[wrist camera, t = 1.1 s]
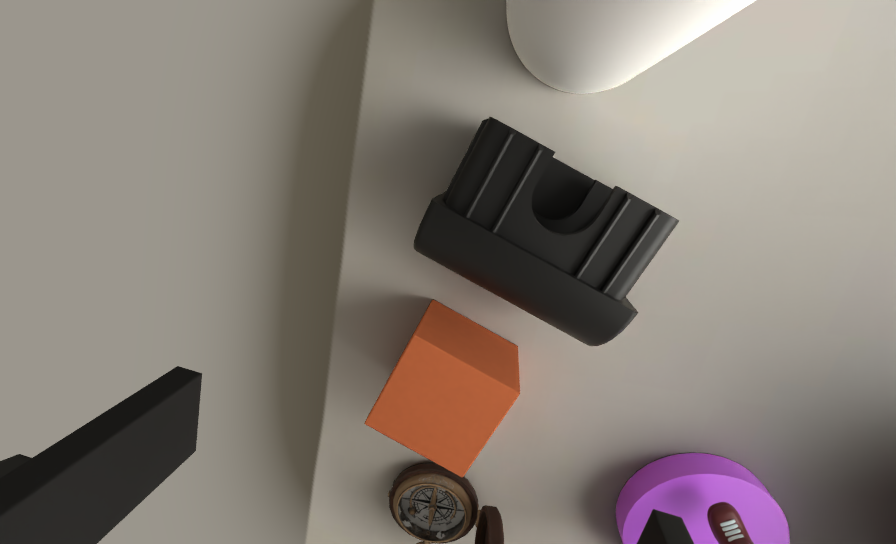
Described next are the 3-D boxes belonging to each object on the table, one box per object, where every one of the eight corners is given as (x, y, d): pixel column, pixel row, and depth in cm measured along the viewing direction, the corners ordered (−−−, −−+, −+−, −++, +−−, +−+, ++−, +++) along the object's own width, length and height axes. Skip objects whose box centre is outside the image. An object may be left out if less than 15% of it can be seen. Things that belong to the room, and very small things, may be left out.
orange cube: (390, 373, 28) (363, 424, 23) (432, 298, 26) (413, 334, 21) (471, 417, 28) (462, 478, 23) (518, 346, 26) (520, 393, 21)
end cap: (427, 234, 25) (399, 261, 19) (486, 121, 23) (477, 107, 17) (575, 316, 25) (598, 371, 19) (648, 210, 23) (701, 231, 17)
